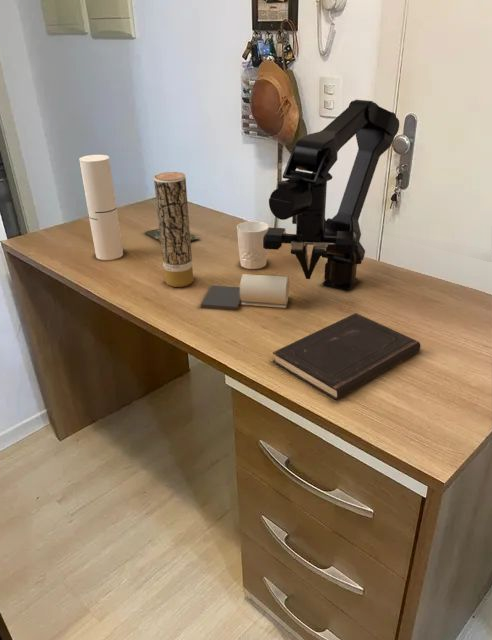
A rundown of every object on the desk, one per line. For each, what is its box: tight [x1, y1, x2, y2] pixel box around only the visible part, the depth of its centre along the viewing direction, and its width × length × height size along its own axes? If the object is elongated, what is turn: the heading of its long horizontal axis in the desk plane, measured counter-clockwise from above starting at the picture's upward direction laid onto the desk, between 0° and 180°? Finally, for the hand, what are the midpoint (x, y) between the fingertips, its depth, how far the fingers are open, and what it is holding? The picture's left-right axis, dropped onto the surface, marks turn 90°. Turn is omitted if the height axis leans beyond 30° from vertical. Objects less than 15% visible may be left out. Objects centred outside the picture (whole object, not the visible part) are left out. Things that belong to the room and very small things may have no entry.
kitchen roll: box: [239, 273, 290, 309], centre depth 122 cm, size 10×6×6 cm, turn 80°
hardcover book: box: [272, 313, 422, 400], centre depth 103 cm, size 16×23×2 cm
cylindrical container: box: [78, 154, 124, 261], centre depth 142 cm, size 7×7×25 cm
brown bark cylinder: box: [153, 171, 194, 288], centre depth 127 cm, size 7×7×25 cm
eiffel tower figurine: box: [144, 228, 198, 242], centre depth 156 cm, size 15×10×13 cm
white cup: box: [236, 220, 270, 270], centre depth 139 cm, size 8×8×10 cm
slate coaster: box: [200, 285, 242, 311], centre depth 125 cm, size 8×10×1 cm
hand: (308, 278), depth 119 cm, fingers closed
